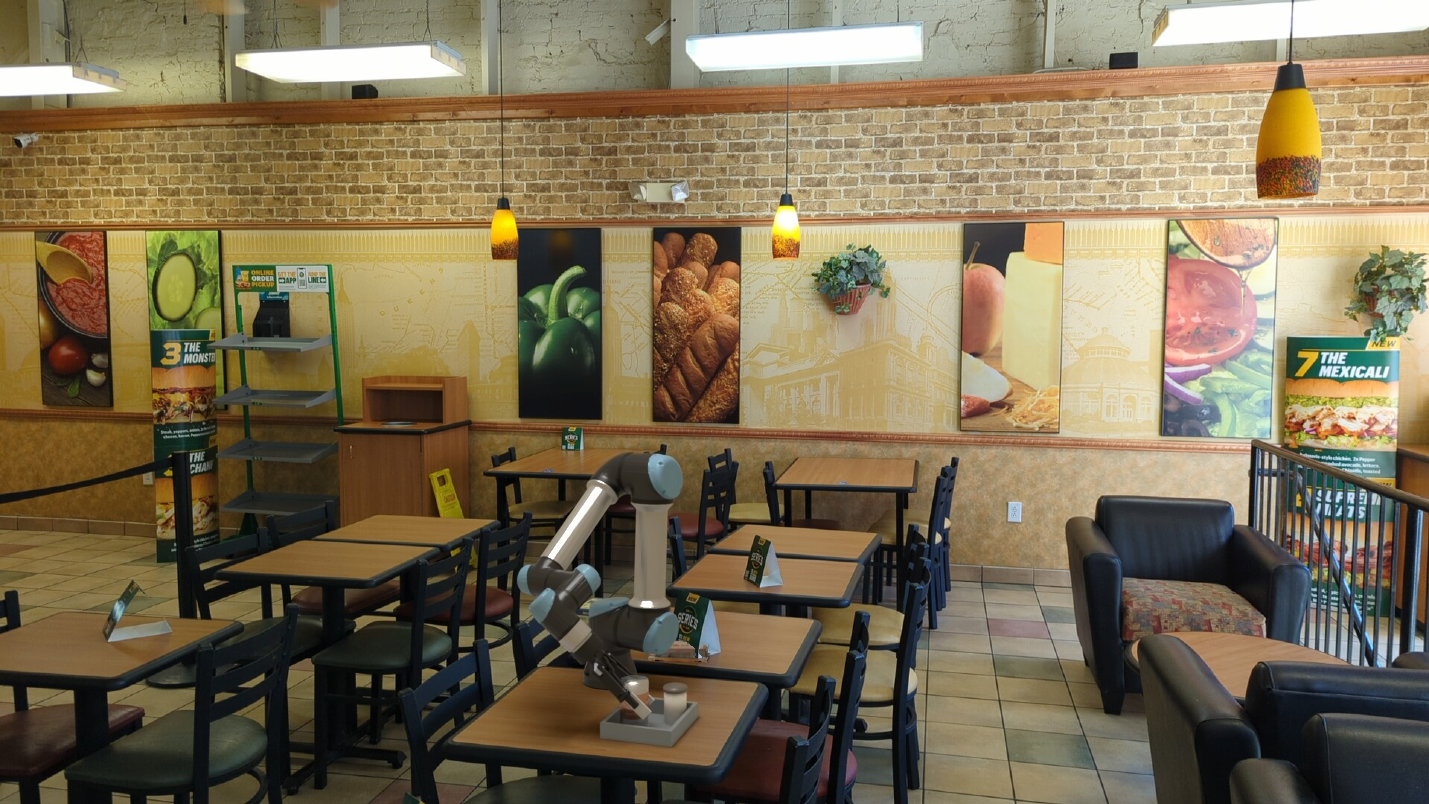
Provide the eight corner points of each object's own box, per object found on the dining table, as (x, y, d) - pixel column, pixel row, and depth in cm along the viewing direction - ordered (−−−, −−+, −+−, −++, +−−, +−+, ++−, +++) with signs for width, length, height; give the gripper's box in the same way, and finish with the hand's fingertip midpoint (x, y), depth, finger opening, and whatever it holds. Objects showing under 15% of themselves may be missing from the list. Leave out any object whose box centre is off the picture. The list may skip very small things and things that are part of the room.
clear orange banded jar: (615, 728, 237) (615, 683, 236) (626, 717, 244) (626, 674, 243) (642, 731, 235) (642, 686, 234) (652, 721, 242) (652, 676, 241)
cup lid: (658, 691, 244) (658, 688, 244) (671, 684, 249) (671, 681, 249) (679, 695, 241) (679, 692, 241) (691, 688, 246) (691, 685, 246)
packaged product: (710, 638, 304) (707, 648, 294) (709, 654, 304) (707, 664, 294) (652, 637, 305) (647, 646, 295) (651, 652, 305) (647, 662, 296)
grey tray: (600, 741, 234) (599, 722, 234) (631, 712, 254) (631, 695, 253) (671, 750, 229) (671, 731, 229) (698, 720, 248) (698, 702, 248)
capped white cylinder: (660, 724, 243) (660, 692, 243) (668, 716, 249) (668, 684, 248) (682, 726, 242) (682, 694, 241) (689, 718, 247) (689, 687, 247)
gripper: (578, 641, 249) (642, 705, 249) (563, 666, 229) (633, 736, 229) (599, 620, 249) (663, 685, 249) (585, 644, 229) (655, 714, 229)
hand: (648, 709), depth 239 cm, fingers closed on clear orange banded jar, 7 cm apart
